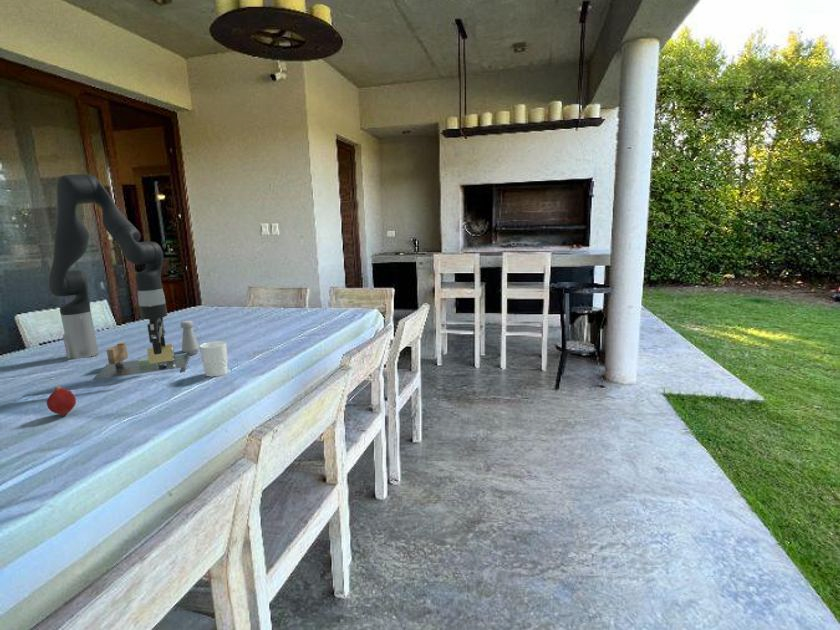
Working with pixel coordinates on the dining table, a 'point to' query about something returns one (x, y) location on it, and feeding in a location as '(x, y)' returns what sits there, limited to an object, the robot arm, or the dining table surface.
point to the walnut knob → (117, 354)
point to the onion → (61, 401)
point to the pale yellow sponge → (161, 355)
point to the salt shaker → (189, 338)
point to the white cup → (214, 358)
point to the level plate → (142, 367)
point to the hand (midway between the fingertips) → (160, 350)
